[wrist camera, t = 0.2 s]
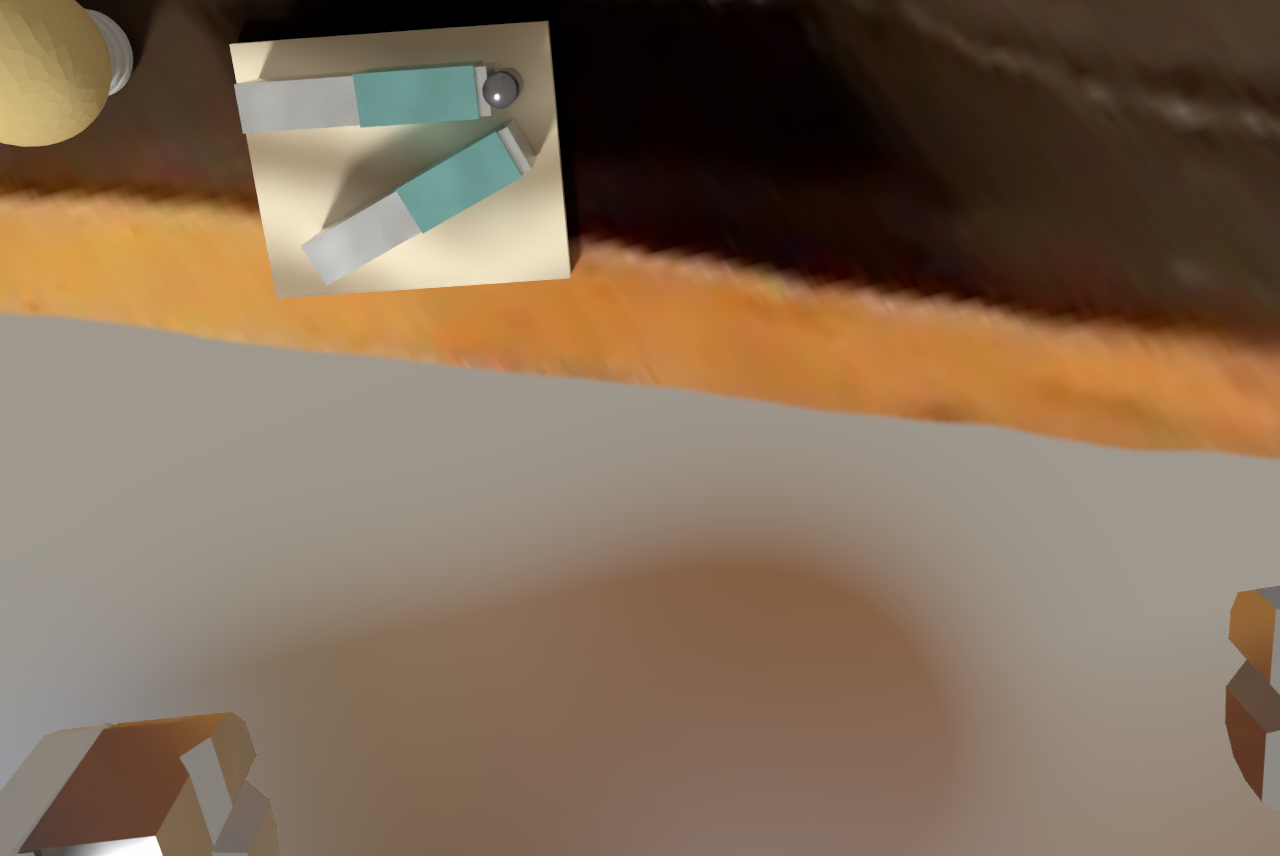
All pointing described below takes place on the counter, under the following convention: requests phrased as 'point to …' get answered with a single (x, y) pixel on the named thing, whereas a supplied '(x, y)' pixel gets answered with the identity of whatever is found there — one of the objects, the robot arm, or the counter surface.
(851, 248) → the counter surface
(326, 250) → the tong arm
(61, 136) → the light bulb
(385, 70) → the tongs fixed arm
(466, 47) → the board
